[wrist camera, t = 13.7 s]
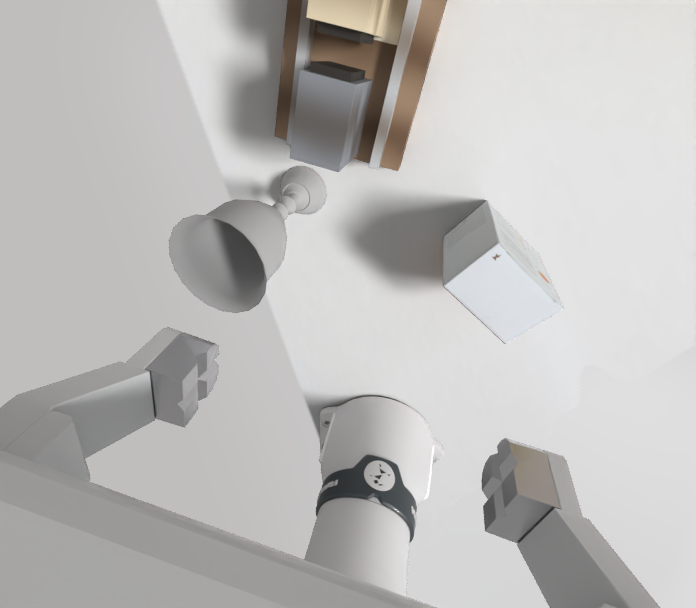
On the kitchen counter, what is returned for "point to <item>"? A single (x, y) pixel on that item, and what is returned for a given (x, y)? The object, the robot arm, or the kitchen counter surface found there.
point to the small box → (497, 274)
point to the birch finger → (350, 18)
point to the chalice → (241, 243)
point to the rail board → (373, 68)
